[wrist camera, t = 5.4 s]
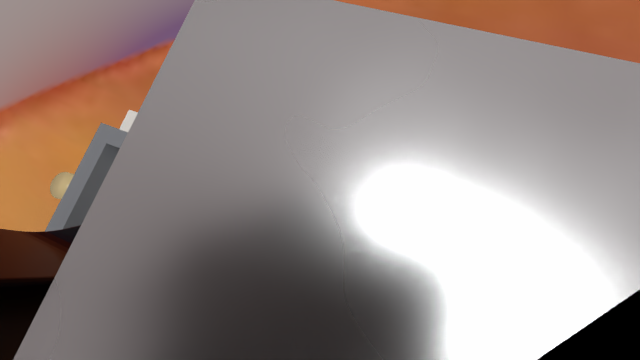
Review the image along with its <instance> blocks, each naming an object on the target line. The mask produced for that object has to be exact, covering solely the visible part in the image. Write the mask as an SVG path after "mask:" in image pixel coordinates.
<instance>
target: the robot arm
mask: <svg viewBox="0 0 640 360" xmlns="http://www.w3.org/2000/svg"><path fill="white" fill-rule="evenodd" d="M80 226H81V225H79V226H75V227H70V228H66V229H61V230H55V231H46V232H23V231H13V230H6V229H0V360H13V359H14V357H15V355H16V353H17V351H18V349H19V347H20V345H21V343H22V341H23V339H24V337H25V335H26V333H27V331H28V329H29V327H30V325H31V323H32V321H33V319H34V317H35V315H36V313H37V311H38V310H39V308H40V306H41V304H42V302H43V300H44V298H45V296H46V294H47V292H48V290H49V288H50V286H51V284H52V282H53V280H54V278H55V276H56V274H57V272H58V270H59V268H60V266H61V264H62V262H63V260H64V258H65V256H66V254H67V252H68V250H69V248H70V246H71V244H72V242H73V240H74V238H75V236H76V234H77V232H78V230H79V228H80Z"/></svg>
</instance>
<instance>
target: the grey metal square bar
mask: <svg viewBox="0 0 640 360" xmlns="http://www.w3.org/2000/svg"><path fill="white" fill-rule="evenodd" d="M13 360H640V64H639V63H635V62H630V61H625V60H620V59H615V58H610V57H605V56H601V55H596V54H591V53H586V52H581V51H576V50H572V49H567V48H562V47H557V46H552V45H547V44H542V43H538V42H533V41H528V40H523V39H518V38H513V37H508V36H504V35H499V34H494V33H489V32H484V31H479V30H474V29H470V28H465V27H460V26H455V25H450V24H445V23H441V22H436V21H431V20H426V19H421V18H416V17H411V16H407V15H402V14H397V13H392V12H387V11H382V10H377V9H373V8H368V7H363V6H358V5H353V4H348V3H343V2H339V1H334V0H195V1H194V3H193V5H192V7H191V9H190V11H189V13H188V15H187V17H186V19H185V21H184V23H183V25H182V27H181V29H180V31H179V33H178V35H177V37H176V39H175V41H174V43H173V45H172V47H171V49H170V50H169V52H168V54H167V56H166V58H165V60H164V62H163V64H162V66H161V68H160V70H159V72H158V74H157V76H156V78H155V80H154V82H153V84H152V86H151V88H150V90H149V92H148V94H147V96H146V98H145V100H144V102H143V104H142V106H141V108H140V110H139V112H138V114H137V116H136V118H135V120H134V122H133V124H132V126H131V128H130V130H129V132H128V134H127V136H126V137H125V139H124V141H123V143H122V145H121V147H120V149H119V151H118V153H117V155H116V157H115V159H114V161H113V163H112V165H111V167H110V169H109V171H108V173H107V175H106V177H105V179H104V181H103V183H102V185H101V187H100V189H99V191H98V193H97V195H96V197H95V199H94V201H93V203H92V205H91V207H90V209H89V211H88V213H87V215H86V217H85V219H84V221H83V223H82V224H81V226H80V228H79V230H78V232H77V234H76V236H75V238H74V240H73V242H72V244H71V246H70V248H69V250H68V252H67V254H66V256H65V258H64V260H63V262H62V264H61V266H60V268H59V270H58V272H57V274H56V276H55V278H54V280H53V282H52V284H51V286H50V288H49V290H48V292H47V294H46V296H45V298H44V300H43V302H42V304H41V306H40V308H39V310H38V311H37V313H36V315H35V317H34V319H33V321H32V323H31V325H30V327H29V329H28V331H27V333H26V335H25V337H24V339H23V341H22V343H21V345H20V347H19V349H18V351H17V353H16V355H15V357H14V359H13Z"/></svg>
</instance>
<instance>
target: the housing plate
mask: <svg viewBox="0 0 640 360" xmlns="http://www.w3.org/2000/svg"><path fill="white" fill-rule="evenodd" d="M137 114H138V113H137V112H134V111H131V110H129V111H128V113H127V115H126V117H125V119H124V121H123V123H122V125H121V127H120V129H117V128H114V127H111V126H109V125H106V124H103V123H101V124H100V126H99V128H98V130H97V132H96V134H95V136H94V138H93V140H92V141H91V143H90V145H89V147H88V149H87V151H86V153H85V155H84V157H83V159H82V161H81V163H80V165H79V167H78V168H77V170H76V172H75V174H72V173H68V172H62V173H60V174H58V175H57V176H55V178H54V179H53V180H52V182H51V186H50V191H51V194H52V196H53V197H55V198H57V199H61V201H60V203H59V205H58V207H57V209H56V211H55V213H54V215H53V217H52V219H51V220H50V222H49V224H48V226H47V228H46V230H45V232H46V231H55V230H61V229H66V228H70V227H75V226H79V225H81V224H82V223H83V221H84V219H85V217H86V215H87V213H88V211H89V209H90V207H91V205H92V203H93V201H94V199H95V197H96V195H97V193H98V191H99V189H100V187H101V185H102V183H103V181H104V179H105V177H106V175H107V173H108V171H109V169H110V167H111V165H112V163H113V161H114V159H115V157H116V155H117V153H118V151H119V149H120V147H121V145H122V143H123V141H124V139H125V137H126V136H127V134H128V132H129V130H130V128H131V126H132V124H133V122H134V120H135V118H136V116H137Z"/></svg>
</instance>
